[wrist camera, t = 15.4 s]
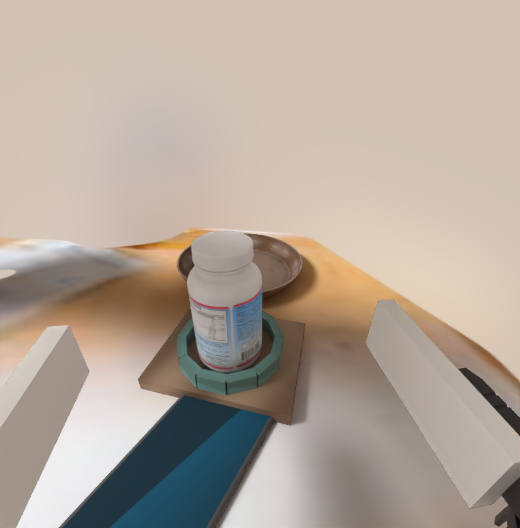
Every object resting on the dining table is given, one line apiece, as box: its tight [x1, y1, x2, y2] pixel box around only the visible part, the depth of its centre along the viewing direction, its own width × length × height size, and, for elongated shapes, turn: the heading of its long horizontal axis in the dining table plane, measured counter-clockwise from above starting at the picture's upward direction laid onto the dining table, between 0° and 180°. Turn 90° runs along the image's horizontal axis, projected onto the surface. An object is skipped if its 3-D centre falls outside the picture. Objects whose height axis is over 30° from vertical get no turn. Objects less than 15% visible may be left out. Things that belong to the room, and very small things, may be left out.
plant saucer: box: [177, 233, 303, 299], centre depth 40 cm, size 18×18×3 cm
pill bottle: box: [187, 231, 262, 373], centre depth 23 cm, size 6×6×11 cm
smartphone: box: [59, 395, 274, 528], centre depth 19 cm, size 8×15×1 cm, turn 149°
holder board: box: [138, 308, 305, 425], centre depth 26 cm, size 13×10×3 cm
